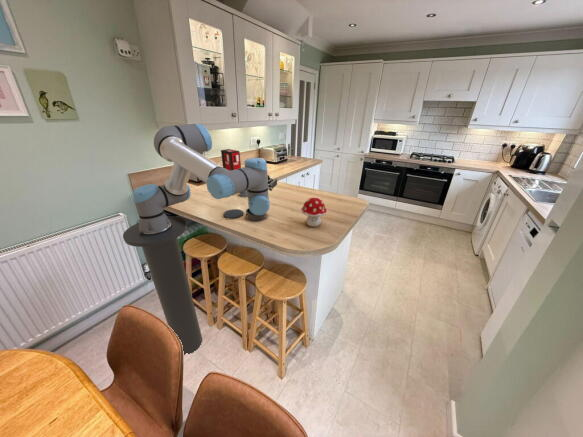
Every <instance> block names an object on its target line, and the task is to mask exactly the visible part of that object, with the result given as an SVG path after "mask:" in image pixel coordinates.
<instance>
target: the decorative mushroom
mask: <svg viewBox="0 0 583 437" xmlns="http://www.w3.org/2000/svg"><path fill="white" fill-rule="evenodd" d="M300 211H301V213H302V215H305V216H306V219H305V223H306V224H307V226H309V227H312V228H316V227H319V225H321V223H322V220H321V217H323V216H325V215H326V214H327V213H328V210H327V208H326V206H325V203H324V201H323V200H322V199H320V198H319V197H310V198H308V199H307V200H305V202H304V203H303V206H302V207H301V208H300Z"/></svg>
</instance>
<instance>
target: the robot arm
mask: <svg viewBox="0 0 583 437" xmlns="http://www.w3.org/2000/svg"><path fill="white" fill-rule="evenodd" d="M153 147H154V150H155V152H156V153H157V155H159V156H160V158H162V159H164V160H165V161H167V162H170V163H173V165H172V168H171V171H170V173H169V174H170V175H169V177H167V178H166V179H165V180H164V184H160V185H157V184H156V183H155V184H154V183H153V184H152V183H150V184H144V185H141V186H138V187H137V188H135V189H134V190H133V191H132V199H133V203H134V206H135V208H136V211H137V214H138V217H139V222H138V223H139V231H140V234H139V235H140V236H141V235H156V234H160V233H163V232H165V231H167V230H169V229H170V228H171V222H170V219H169V218H168V217H167V216H168V215H167V214H166V213H165V208H167V207H170V206H171V207H172V206H174V205H176V204H180V203H184V202H186V201H188V200H189V199H190V198H191V195H192V193H191V187H190V185H189V183H188V182H189V179H190V177H191V175H193V176H194V177H195V178H197V179H199V180H200V181H202V182H203V183H204V184H206V189H207V191H208V193H209V194H210V196H211V197H212V198H214V199H215V200H222V199H227V198H230V197H232V196H235V195H237V194H240V192H241V193H243V192H244V191H247V192H248V196H247V204H248V205H247V206H248V208H249V209H250V211H251V212H252V213H253V214H255V215H263V214H265V213H266V212H267V213H268V211H269V210H270V206H271V204H270V200H269V191H270V192H272V191H273V189H274V188H275V187H276V186H277V185H278V179H277V178H272V177H270V174H268V165H267V160H266V159H265V158H262V157H250V158H247V159H246V160H244V166H243V168H242V167H241V168H239V169H235V170H231V171H229V170H227V169H225V168H223V165H220V164H218V163H217V162H215V161H213V160H212V159H210V158H208V157H206V156H205V155H203V154H204V153H205V152H206V153H207V152H210V151H211V150H212V148H213V139H212V135H211V133H210V131H209V130H208V128H207V127H206V126H205V125H204V124H201V123H188V124H177V125H176V124H175V125H166V126H163V127H161V128H159V129H158V130H157V132H156V133H155V134H154V137H153Z"/></svg>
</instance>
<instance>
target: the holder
mask: <svg viewBox="0 0 583 437" xmlns="http://www.w3.org/2000/svg"><path fill="white" fill-rule="evenodd" d="M245 216H246V220H248V221H250V222H261V221H264V220H266V219H267V218H268V211H267V212H266V213H265V214H263V215H255V214H250V213H249V207H248V208H247V209H246V210H245Z"/></svg>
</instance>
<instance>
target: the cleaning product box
mask: <svg viewBox="0 0 583 437" xmlns="http://www.w3.org/2000/svg"><path fill="white" fill-rule="evenodd" d="M220 156H221V163H222V167H223V168H225V169H227V170H229V171H231V170H235V169H239V168H242V164H241V153H240V151H239V150H236V149H230V148H226V149H221V150H220Z"/></svg>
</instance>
